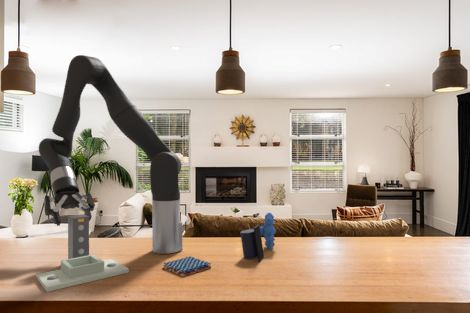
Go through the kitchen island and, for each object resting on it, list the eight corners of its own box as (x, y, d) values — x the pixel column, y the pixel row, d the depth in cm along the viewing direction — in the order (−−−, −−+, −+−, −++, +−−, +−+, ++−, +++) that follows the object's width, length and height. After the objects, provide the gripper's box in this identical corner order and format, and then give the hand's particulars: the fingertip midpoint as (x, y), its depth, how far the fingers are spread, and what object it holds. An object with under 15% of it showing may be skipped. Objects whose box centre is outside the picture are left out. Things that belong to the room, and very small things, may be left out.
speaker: (270, 257, 104) (266, 223, 105) (259, 262, 100) (255, 227, 100) (250, 254, 109) (247, 223, 109) (240, 260, 105) (236, 227, 105)
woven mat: (189, 261, 103) (189, 254, 103) (212, 269, 95) (212, 262, 95) (160, 269, 95) (160, 262, 95) (183, 279, 88) (183, 271, 88)
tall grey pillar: (83, 259, 103) (83, 214, 103) (89, 263, 99) (89, 216, 99) (68, 262, 100) (68, 216, 100) (73, 266, 96) (72, 218, 96)
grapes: (257, 243, 122) (257, 210, 122) (275, 243, 122) (275, 210, 122) (257, 252, 110) (256, 216, 110) (277, 252, 110) (277, 216, 110)
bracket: (112, 262, 101) (112, 250, 101) (128, 272, 92) (128, 259, 92) (36, 278, 88) (36, 264, 88) (46, 291, 78) (46, 277, 79)
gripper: (42, 176, 105) (50, 217, 97) (89, 174, 115) (100, 212, 106) (38, 191, 109) (46, 232, 101) (84, 189, 119) (95, 226, 110)
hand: (74, 222), depth 103 cm, fingers open, 8 cm apart
